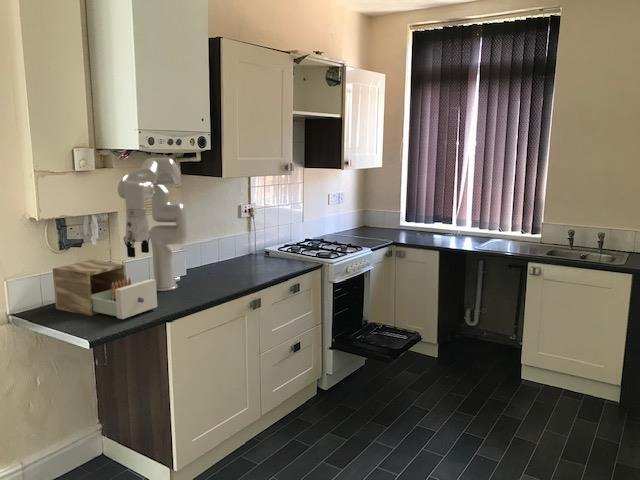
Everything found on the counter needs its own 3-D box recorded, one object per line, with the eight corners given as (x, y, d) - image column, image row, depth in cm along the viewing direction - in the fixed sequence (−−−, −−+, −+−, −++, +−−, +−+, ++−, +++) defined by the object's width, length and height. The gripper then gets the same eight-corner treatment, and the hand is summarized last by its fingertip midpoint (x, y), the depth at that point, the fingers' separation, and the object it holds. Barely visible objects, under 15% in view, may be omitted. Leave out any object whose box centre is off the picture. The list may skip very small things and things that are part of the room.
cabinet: (94, 297, 253) (91, 259, 250) (127, 303, 243) (125, 264, 240) (56, 308, 236) (52, 268, 233) (90, 316, 226) (87, 274, 223)
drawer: (119, 299, 245) (117, 273, 243) (159, 307, 233) (158, 280, 231) (83, 311, 228) (81, 283, 226) (124, 319, 217) (122, 290, 214)
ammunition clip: (114, 310, 225) (112, 282, 223) (111, 309, 226) (109, 282, 224) (134, 303, 235) (132, 277, 233) (131, 303, 236) (129, 276, 233)
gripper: (131, 215, 209) (134, 259, 211) (156, 211, 225) (158, 251, 228) (114, 215, 210) (117, 258, 213) (140, 210, 227) (142, 250, 230)
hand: (138, 254), depth 221 cm, fingers open, 9 cm apart
